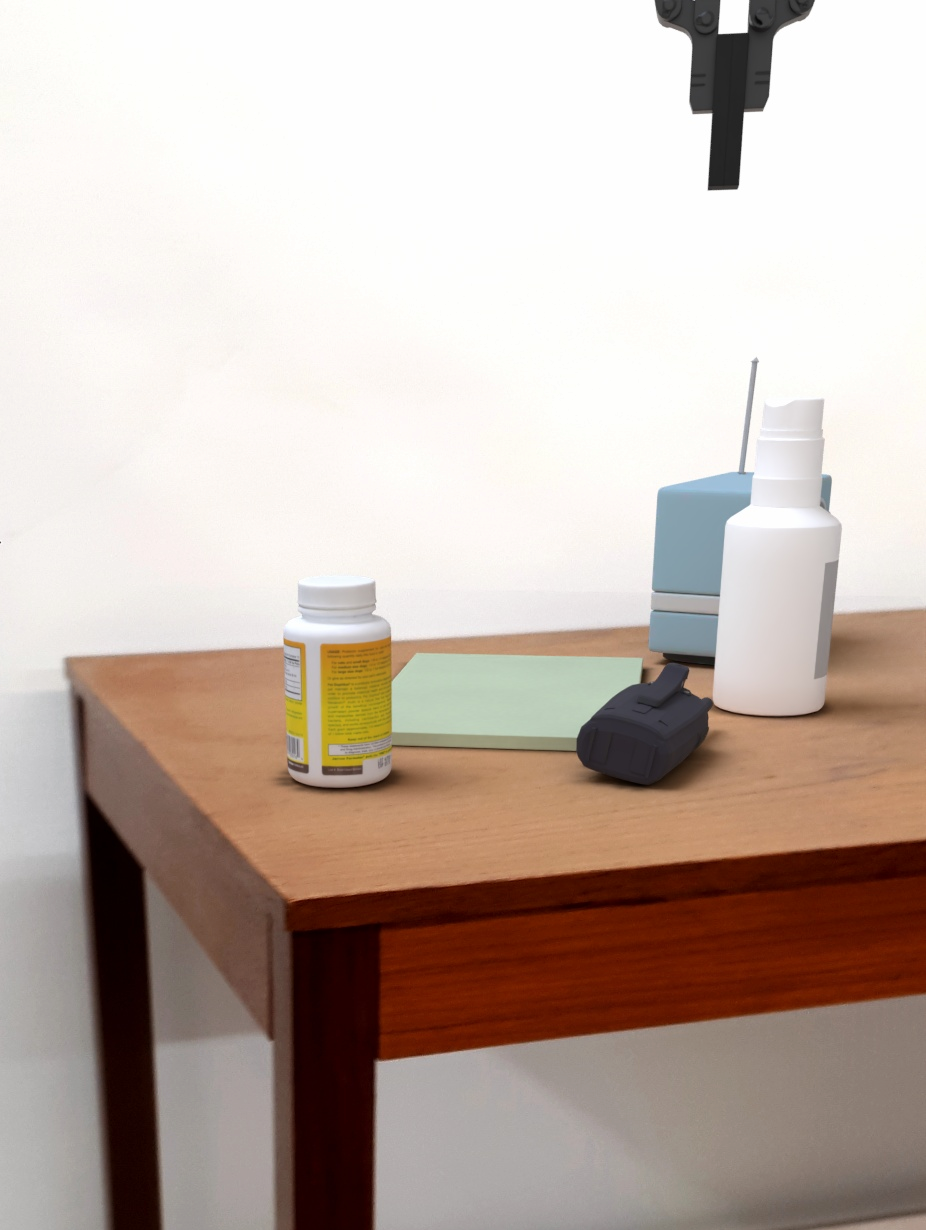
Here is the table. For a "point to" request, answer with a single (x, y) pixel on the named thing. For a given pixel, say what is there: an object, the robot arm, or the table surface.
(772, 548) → the spray bottle
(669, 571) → the radio
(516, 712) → the mat
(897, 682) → the table surface
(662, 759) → the two-way radio
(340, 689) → the supplement bottle
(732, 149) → the robot arm
